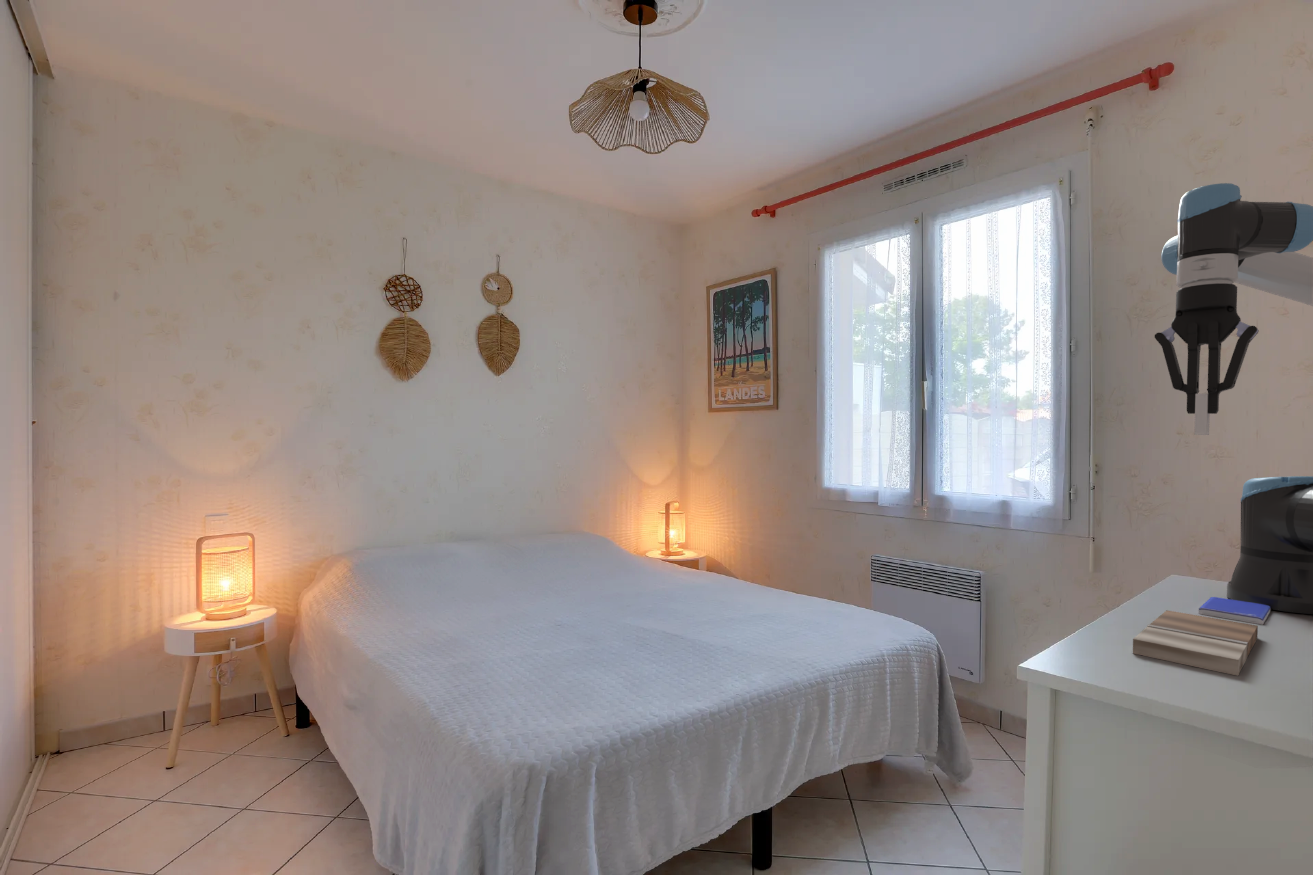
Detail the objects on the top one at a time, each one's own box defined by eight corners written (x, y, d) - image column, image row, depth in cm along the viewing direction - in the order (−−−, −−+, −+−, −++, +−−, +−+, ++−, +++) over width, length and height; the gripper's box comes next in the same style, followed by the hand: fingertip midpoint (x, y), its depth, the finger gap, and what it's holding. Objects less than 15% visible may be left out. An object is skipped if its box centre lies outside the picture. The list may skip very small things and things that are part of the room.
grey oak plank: (1238, 675, 84) (1238, 658, 84) (1132, 653, 92) (1133, 637, 92) (1247, 657, 91) (1247, 642, 91) (1148, 638, 99) (1148, 624, 99)
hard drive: (1263, 617, 108) (1270, 605, 116) (1198, 606, 114) (1210, 595, 122) (1262, 627, 108) (1270, 614, 116) (1198, 616, 114) (1210, 604, 122)
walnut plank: (1247, 656, 91) (1248, 642, 91) (1149, 637, 99) (1149, 624, 99) (1257, 638, 100) (1257, 625, 100) (1166, 621, 108) (1166, 610, 108)
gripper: (1150, 288, 108) (1146, 433, 109) (1258, 276, 99) (1253, 435, 99) (1160, 295, 114) (1156, 434, 114) (1263, 284, 104) (1258, 435, 104)
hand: (1201, 434), depth 107 cm, fingers closed
